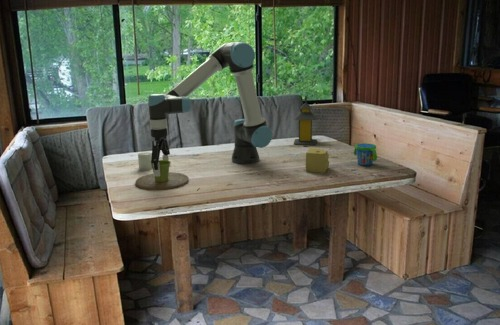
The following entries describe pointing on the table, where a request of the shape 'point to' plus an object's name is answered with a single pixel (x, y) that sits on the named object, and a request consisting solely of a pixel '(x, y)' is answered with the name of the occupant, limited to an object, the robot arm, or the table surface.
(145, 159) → the grey small cylinder
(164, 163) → the plant pot
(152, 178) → the trivet
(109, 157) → the table surface
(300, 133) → the lantern
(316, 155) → the cheese
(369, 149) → the snack cup
